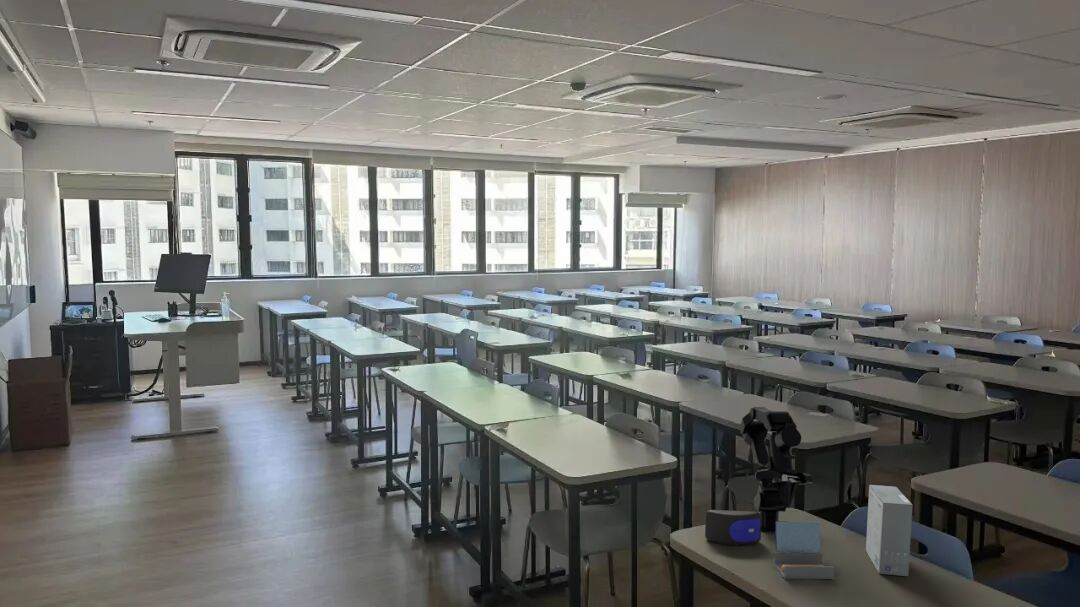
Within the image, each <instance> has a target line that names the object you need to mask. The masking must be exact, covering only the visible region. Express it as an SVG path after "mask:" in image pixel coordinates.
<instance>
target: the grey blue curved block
mask: <svg viewBox="0 0 1080 607" xmlns="http://www.w3.org/2000/svg"><path fill="white" fill-rule="evenodd" d="M704 527H705V529H704V531H705V532H704V537H705V539H706V540H707V541H708V542H711V543H715V544H719V545H720V544H721V545H726V546H741V547H742V546H750V545H751V546H752V545H756V544H758V543H759V542H760V541H761V537H762V535H761V534H762V531H761V514H760V512H759V511H752V510H751V511H748V510H747V511H744V510H723V509H722V510H721V509H709V510H707V511H706V512H705V526H704Z"/></svg>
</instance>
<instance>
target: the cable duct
mask: <svg viewBox="0 0 1080 607" xmlns="http://www.w3.org/2000/svg"><path fill="white" fill-rule="evenodd" d="M773 558H774V562H773V565H774V564H775V565H774V567H775V566H776V567H777V568H776V567H775V568H776V569H777V571H778V570H779V571H780V572H779V571H778V572H779V574H780V573H781V574H782V575H781V574H780V575H781V577H782V578H783V577H784V578H785V579H832V580H831V581H834V579H835V578H834V577H835V566H833V565H832V566H831V565H824V564H823V553H822V552H774V556H773ZM784 578H783V579H784ZM785 579H784V580H785Z"/></svg>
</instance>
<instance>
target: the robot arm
mask: <svg viewBox="0 0 1080 607" xmlns="http://www.w3.org/2000/svg"><path fill="white" fill-rule="evenodd" d="M797 427H798V426H797V424H796V422H795V421H794V420H793V417H792V416H791V415H790V413H789V412H788V411H786V410H785V411H784V410H783V411H777V410H772V409H768V408H767V407H763V406H761V407H755V406H754V407H751V408H750V410H749V412H748V413H746V415H744V416H743V417H742V419H741V422H740V427H739V431H740V435H742V438H743V441H744V442H745V443H746V444H747V445H748V446H750V449H751V453H752V456H753V460H754V464H753V472H754V476H755V481H758V482H759V486H758V489H757V492H756V495H755V496H754V498H753V507H754V508H755V509H756V510H757V512H759V513H760V514H761V532H767V533H768V532H769V533H775V521H779V520H780V512H782V513H783V512H786V511H787V510H786V509H788V508H791V505H792V502H793V500H794V498H795V494H796V492H797V489H798V488H799V486H800V485H807V484H813V483H814V482H813V481H814V480H813V476H812V475H811V474H810V473H807V472H798V471H797V469H794V463H793V462H794V461H795V460H796V456H795V455H793V454H792V449H793V448H795V447H797V446H799V445H800V444H801V442H802V434H801V433H800V431H799V430H798V428H797ZM769 432H771V434H770V435H769V438H768V440H769V444H770V454H771V456H769V452H768V448H767V444H766V438H767V436H768V433H769ZM793 460H794V461H793Z"/></svg>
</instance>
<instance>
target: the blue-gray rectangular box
mask: <svg viewBox="0 0 1080 607" xmlns="http://www.w3.org/2000/svg"><path fill="white" fill-rule="evenodd" d="M820 530H821V529H820V521H817V520H815V521H808V520H807V521H806V520H804V521H801V520H800V521H799V520H798V521H797V520H793V521H792V520H791V521H790V520H789V521H788V520H785V521H783V520H782V521H781V520H780V521H775V532H774V533H775V553H821V535H820V534H821V531H820Z"/></svg>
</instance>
